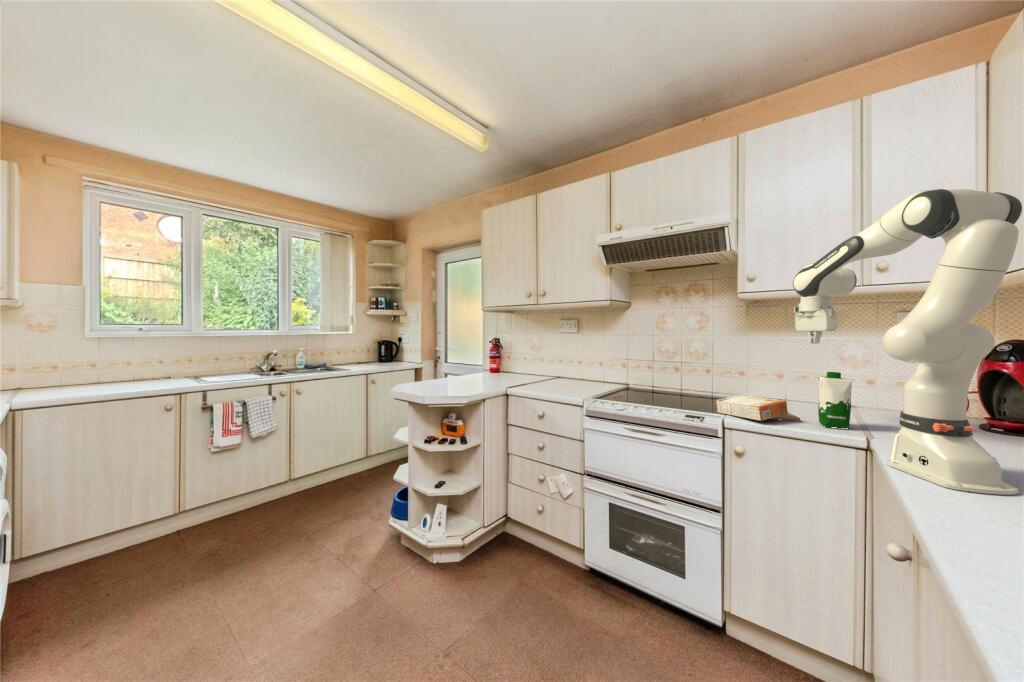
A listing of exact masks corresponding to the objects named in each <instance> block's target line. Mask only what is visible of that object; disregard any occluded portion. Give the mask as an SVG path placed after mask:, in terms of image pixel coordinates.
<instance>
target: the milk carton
mask: <svg viewBox="0 0 1024 682" xmlns="http://www.w3.org/2000/svg"><path fill="white" fill-rule="evenodd" d="M818 384H819V385H818V386H819V387H818V410H817V411H818V423H819V422H820V423H821V424H822V425H823V426H825V427H837V428H848V429H849V430H850V423H851V414H852V413H851V411H852V410H851V409H852V386H853V381H852V380H851V379H848V378H847V377H842V373H841V372H840V371H826V376H819V383H818ZM820 423H819V424H820ZM821 424H820V425H821ZM822 425H821V426H822ZM823 426H822V427H823Z"/></svg>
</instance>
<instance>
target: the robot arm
mask: <svg viewBox="0 0 1024 682" xmlns="http://www.w3.org/2000/svg"><path fill="white" fill-rule="evenodd" d="M1022 205H1023V204H1022V202H1021V201H1020V199H1019V198H1017V197H1016V196H1013V195H1011V194H1008V193H1004V192H997V191H996V192H990V191H984V190H983V191H982V190H975V189H968V188H967V189H965V188H964V189H963V188H961V189H959V188H958V189H943V188H937V189H931V190H930V189H924V190H919V191H916V192H912V194H910V195H908V196H906V198H904V199H902V200H901V201H899V202H897V203H896V204H895V205H894V206H892V207H891V208H890V209H889V210H888V211H886V212H885V213H884V214H883V215H882V216H881V217H880V218H878V219H877V220H876V221H875V222H873V223H872V224H871V225H869V226H868V227H866V228H865V229H864V230H862V231H860V232H858V233H856V234H855V235H853V236H851V237H849V238H847V239H846V240H843V242H841V243H840V244H839V243H838V245H837V246H835V247H833V249H831V250H830V251H828V252H827V253H826V254H825V255H823V256H822V257H821V258H819V260H817V261H815V262H813V263H810V264H807V265H806V266H804V267H803V268H802V269H801V270H799V272H797V273H796V274H795V276H794V277H793V280H792V288H793V289H794V291H795V292H796V293H797V294H798V295H799V296H800V302H799V303H798V304H797V306H795V307H794V308H793V312H794V313H795V316H794V324H795V325H794V327H795V330H796V332H807V335H808V338H809V343H810V344H820V343H821V338H822V336H823V332H835V331H836V330H837V329H838V319H837V313H836V311H835V309H834V308H833V307H832V305H831V299H832V298H831V296H832V297H834V296H844V295H848V294H850V293H852V292H853V290H854V289H855V288H856V286H857V282H858V279H857V275H856V273H855V272H854V271H853V270H852V269H849V268H843V267H845V266H847V265H848V264H852V263H853V262H857V261H859V260H866V259H871V258H877V257H885V256H890V255H891V256H892V255H895V254H897V253H899V252H901V251H903V250H905V249H907V248H909V247H910V246H912V245H914V243H916V242H917V241H918V240H920V239H921V238H922V237H923V236H925V237H926V238H928V239H936V238H939V237H941V239H943V241H944V243H945V248H944V251H943V253H942V255H941V258H940V259H939V261H938V264H937V266H936V269H935V271H934V273H933V275H932V277H931V279H930V282H929V284H928V286H927V288H926V290H925V292H924V294H923V295H922V297H921V298H920V300H919V301H918V302H917V304H916V305H915V306H914V307H913V309H911V311H910V312H909V313H908V314H907V315H906V316H905V317H904V318H903V319H902V320H901V321H899V322H898V323H897V324H895V325H894V326H891V327H890V328H888V329H887V330H886V332H885V333H884V335H883V336H882V344H881V345H882V348H883V350H884V351H885V353H886V354H887V355H888V356H889V357H891V358H893V359H894V360H899V361H902V362H906V363H909V364H910V363H912V364H918V366H917V367H916V370H915V372H914V373H913V375H912V376H910V377H909V379H907V380H906V381H905V382H904V385H903V396H902V397H903V398H902V400H903V401H902V411H900V413H899V418H898V419H899V425H900V429H899V431H898V432H897V433H896V434H895V436H894V440H893V446H892V451H891V456H890V459H887V460H886V465H887V466H888V467H892V468H894V469H897V470H899V471H903V472H904V473H906V474H909V475H912V476H915V477H918V478H920V479H923V480H925V481H927V482H930V483H933V484H935V485H938V486H940V487H943V488H946V489H952V490H957V491H961V490H962V491H963V492H968V491H969V493H979V494H986V495H988V494H989V495H1001V496H1002V495H1005V496H1008V495H1009V496H1012V495H1018V494H1019V493H1020V490H1019V488H1017V487H1015V486H1013V485H1011V484H1009V483H1008V482H1005V481H1003V478H1002V467H1001V465H1000V463H999V461H997V458H995V457H994V456H992V455H991V454H990V453H989V452H988V451H987V450H986V449H985V448H984V447H983V446H982V445H981V444H979V442H977V441H976V440H975V439H974V437H973V432H977V430H975V429H977V428H978V427H977V426H971V425H970V422H969V420H968V419H967V405H968V396H969V391H970V386H971V383H972V380H973V377H974V376H975V373H976V371H977V369H978V366H980V363H981V362H982V360H983V359H984V358H985V357H986V356H987V355H988V354H990V353H991V352H992V350H993V349H994V346H995V337H994V335H993V334H992V332H991V331H990V330H989V329H987V328H986V327H984V326H981V325H979V324H976V323H972V322H969V321H970V320H971V319H973V318H974V316H975V315H976V314H977V313H979V312H980V311H982V310H984V309H985V308H987V307H988V306H989V305H990V304H991V303H992V302H993V300H994V298H995V297H996V296H995V295H996V294H997V291H998V290H999V288H1000V286H1001V284H1002V282H1003V280H1004V278H1005V275H1006V273H1007V271H1008V269H1009V267H1010V265H1011V263H1012V261H1013V258H1014V256H1015V252H1016V248H1017V245H1018V241H1019V234H1020V231H1019V228H1018V226H1017V225H1015V224H1016V223H1017V222H1018V221H1019V219H1020V217H1021V215H1022V212H1023V211H1022V210H1023V206H1022ZM962 491H961V492H962Z"/></svg>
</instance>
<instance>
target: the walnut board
mask: <svg viewBox="0 0 1024 682" xmlns="http://www.w3.org/2000/svg"><path fill="white" fill-rule="evenodd" d="M771 419H781V420H780V421H785V420H800V421H801V418H800V417H799V416H796V415H794V414H792V413H790V412H788V415H783V416H779V417H775V418H771Z"/></svg>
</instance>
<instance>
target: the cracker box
mask: <svg viewBox="0 0 1024 682" xmlns="http://www.w3.org/2000/svg"><path fill="white" fill-rule="evenodd" d="M715 400H716V407H717V408H716V409H717V413H719V414H724V415H729V416H734V417H739V418H743V419H749V420H753V421H754V420H755V421H758V422H759V421H760V422H763V421H766V420H767V419H771V418H775V417H779V416H783V415H788V413H789V411H788V404H787V400H783V399H777V398H776V399H775V398H767V397H760V396H754V395H753V396H752V395H746V394H739V395H734V396H729V397H725V398H720V399H715ZM767 421H768V420H767Z"/></svg>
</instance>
